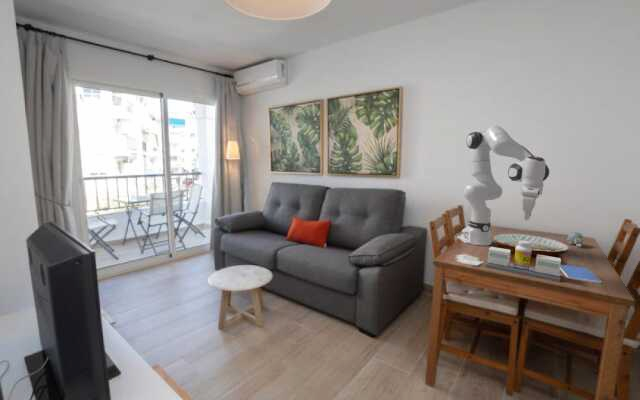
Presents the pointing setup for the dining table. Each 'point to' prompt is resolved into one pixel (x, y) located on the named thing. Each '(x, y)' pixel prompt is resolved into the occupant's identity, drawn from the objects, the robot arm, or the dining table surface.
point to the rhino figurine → (575, 239)
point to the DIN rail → (524, 269)
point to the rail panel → (523, 272)
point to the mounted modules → (542, 262)
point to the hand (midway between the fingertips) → (527, 218)
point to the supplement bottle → (522, 255)
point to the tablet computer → (579, 273)
